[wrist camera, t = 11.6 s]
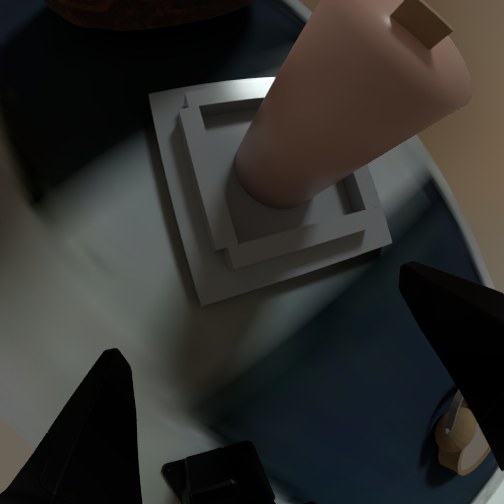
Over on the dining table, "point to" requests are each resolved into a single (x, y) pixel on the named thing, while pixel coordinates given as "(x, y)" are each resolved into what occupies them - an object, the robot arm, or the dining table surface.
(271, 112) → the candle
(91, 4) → the jug
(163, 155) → the dish
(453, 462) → the alarm clock
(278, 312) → the dining table surface
